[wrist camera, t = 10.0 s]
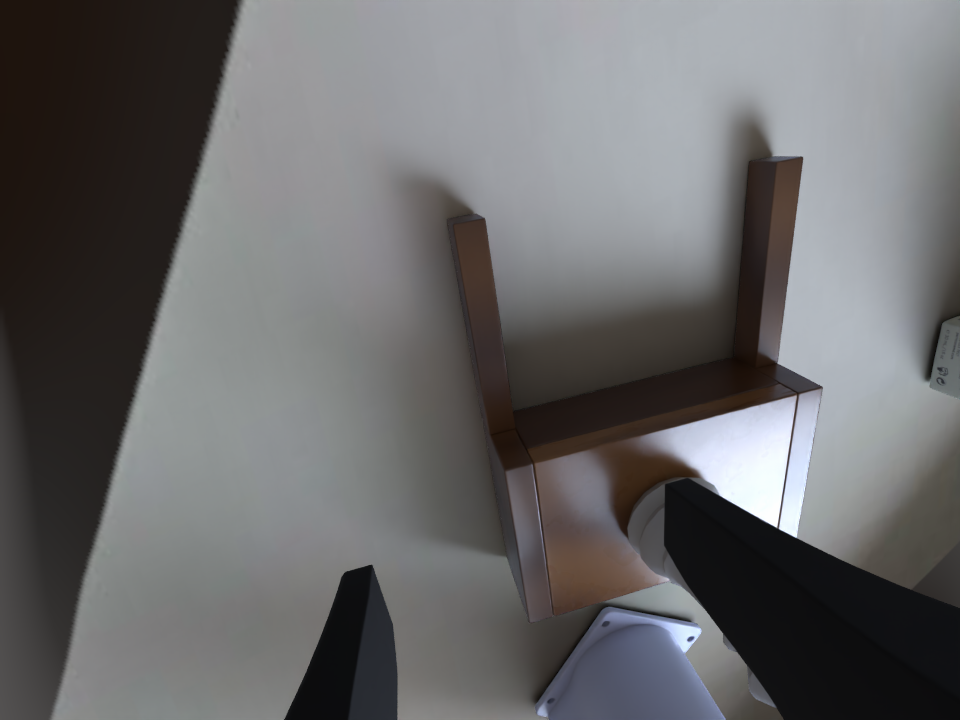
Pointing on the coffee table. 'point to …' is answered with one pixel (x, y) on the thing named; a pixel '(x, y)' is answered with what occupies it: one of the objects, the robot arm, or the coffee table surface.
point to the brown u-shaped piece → (643, 423)
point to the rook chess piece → (650, 545)
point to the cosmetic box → (947, 360)
